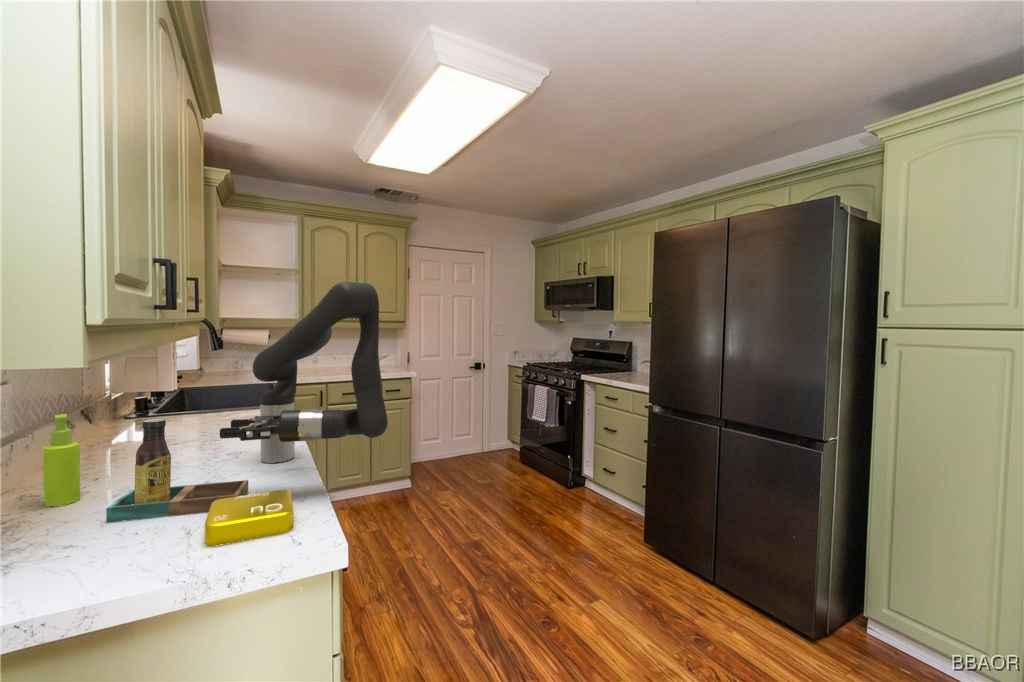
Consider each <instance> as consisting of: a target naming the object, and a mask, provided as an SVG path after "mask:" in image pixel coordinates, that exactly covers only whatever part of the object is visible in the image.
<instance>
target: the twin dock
mask: <svg viewBox="0 0 1024 682" xmlns="http://www.w3.org/2000/svg"><path fill="white" fill-rule="evenodd" d="M134 491H135V489H131V490H129V491H128V492H127V493H125V494H124V495H122V496H121V497H120V498H118V499H117V500H116V501H114V502H113V503H111V504H110V505H109V506H107V507H106V508H105V509H106V510H105V511H106V512H105V513H106V514H105V516H106V523H107V522H108V523H115V521H117V522H124V521H123V520H127V521H132V520H131V519H137V520H144V519H143V518H146V519H154V518H155V517H156V518H163V517H164V518H165V517H174V516H181V515H182V516H183V515H185V516H186V515H193V514H203V513H209V510H210V507H211V504H212V503H213V502H214V501H215V500H217V499H223V498H229V497H236V496H243V495H248V493H249V480H248V479H244V480H233V481H224V482H213V483H211V482H210V483H199V484H186V485H177V486H170V500H169V501H164V502H154V503H143V504H134ZM233 494H234V495H233ZM222 495H224V496H222ZM213 496H214V497H213ZM132 504H133V505H132Z"/></svg>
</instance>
